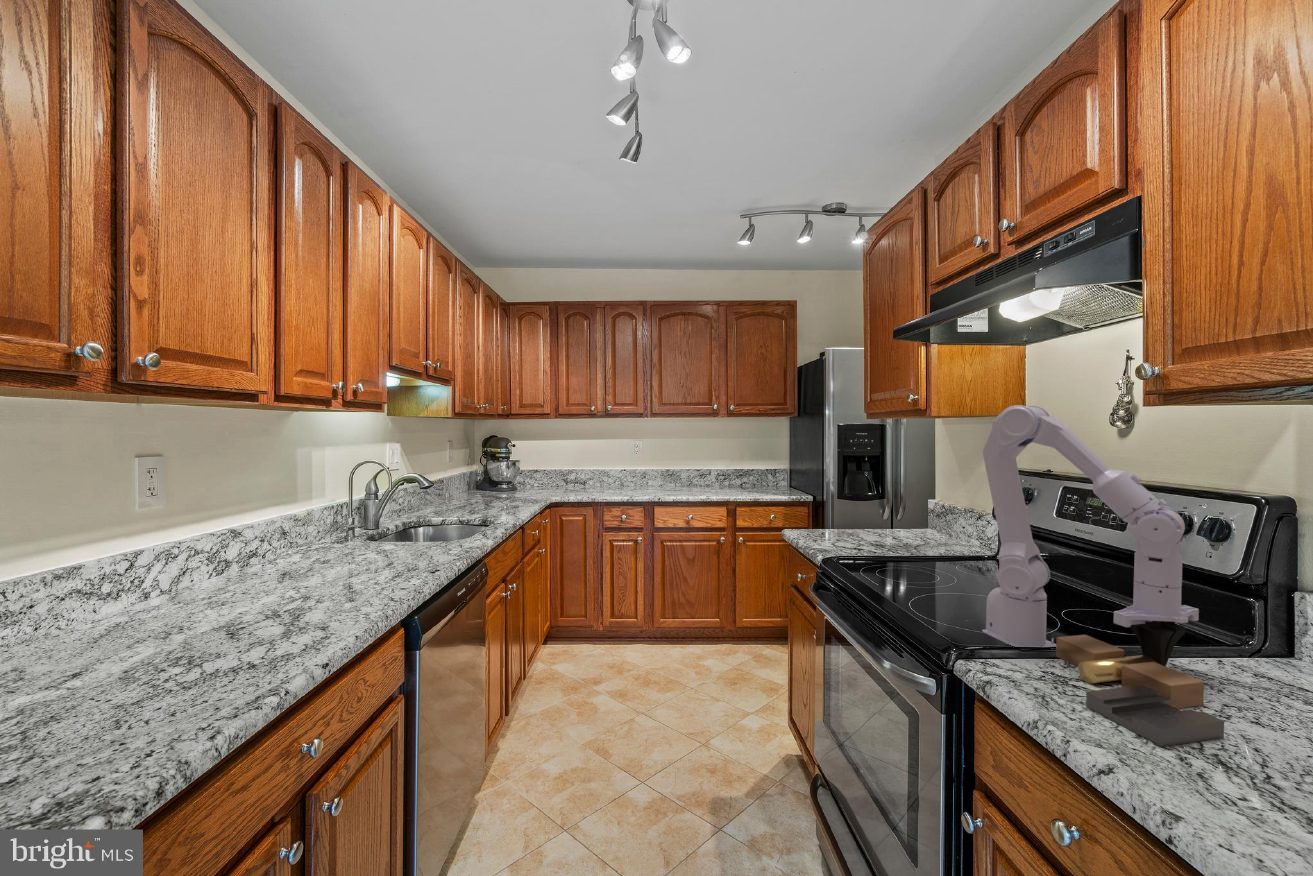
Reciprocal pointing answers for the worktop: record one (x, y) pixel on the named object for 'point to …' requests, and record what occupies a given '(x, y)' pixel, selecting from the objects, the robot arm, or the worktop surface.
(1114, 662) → the axle
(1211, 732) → the v block
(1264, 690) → the worktop surface
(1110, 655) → the beam
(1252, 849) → the worktop surface
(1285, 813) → the worktop surface
